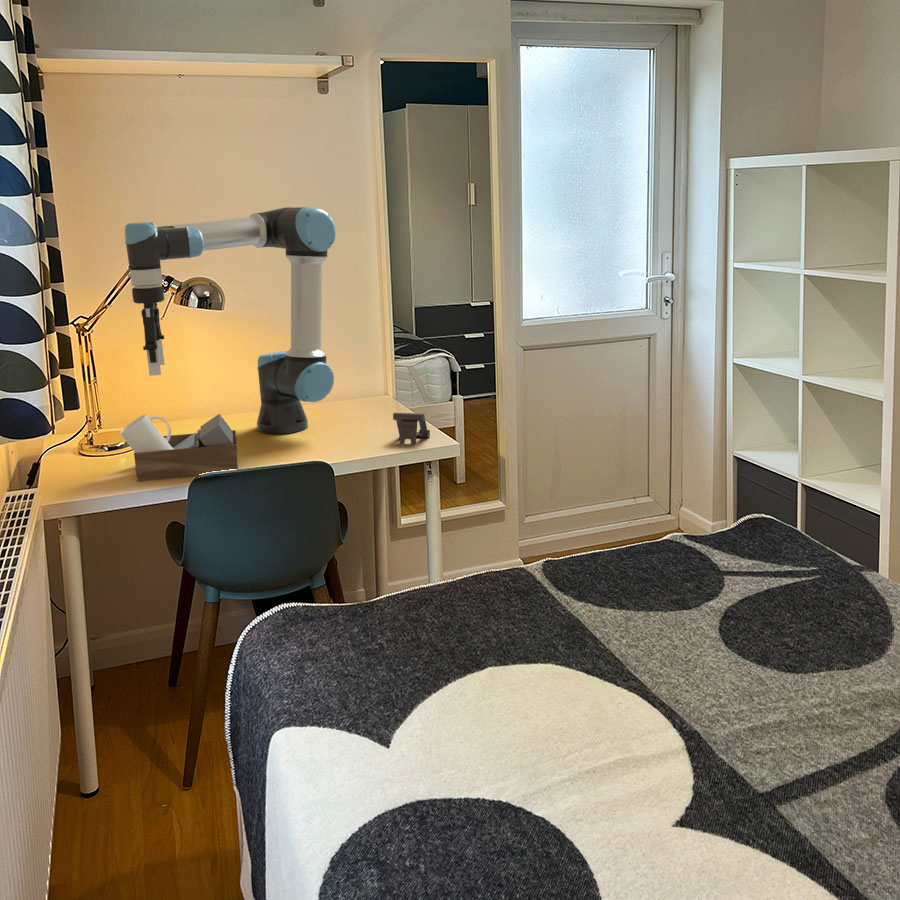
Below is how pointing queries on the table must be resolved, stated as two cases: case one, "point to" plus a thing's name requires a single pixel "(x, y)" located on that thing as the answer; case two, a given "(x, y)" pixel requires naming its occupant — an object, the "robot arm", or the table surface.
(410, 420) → the portable electronic device stand
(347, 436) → the table surface
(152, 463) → the brown wooden box
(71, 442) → the table surface
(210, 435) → the trapdoor
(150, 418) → the mug
